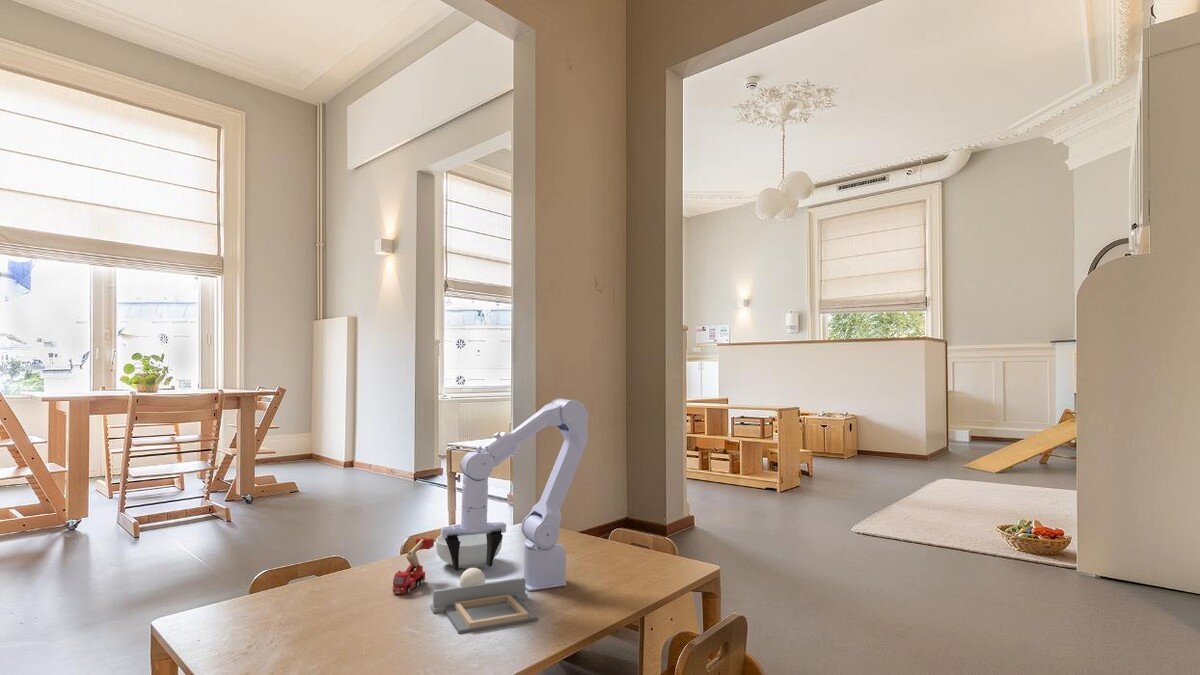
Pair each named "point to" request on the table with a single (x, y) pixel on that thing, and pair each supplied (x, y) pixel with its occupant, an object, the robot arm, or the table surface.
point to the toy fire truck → (412, 569)
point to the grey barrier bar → (477, 593)
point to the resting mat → (488, 613)
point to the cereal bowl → (466, 550)
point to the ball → (472, 577)
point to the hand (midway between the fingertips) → (472, 567)
